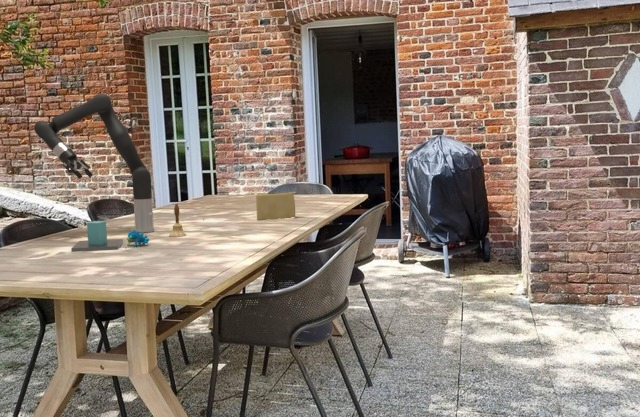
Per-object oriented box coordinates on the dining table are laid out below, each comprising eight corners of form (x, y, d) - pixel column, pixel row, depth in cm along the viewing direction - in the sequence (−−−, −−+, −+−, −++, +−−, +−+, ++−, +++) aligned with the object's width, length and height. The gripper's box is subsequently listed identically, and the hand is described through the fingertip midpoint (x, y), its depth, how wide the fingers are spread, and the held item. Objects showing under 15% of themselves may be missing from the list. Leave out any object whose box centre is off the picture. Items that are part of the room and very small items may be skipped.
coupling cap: (95, 242, 328) (94, 221, 326) (107, 242, 326) (105, 221, 325) (88, 244, 322) (86, 222, 321) (99, 244, 320) (98, 223, 319)
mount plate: (123, 242, 335) (122, 223, 334) (117, 249, 316) (116, 229, 315) (79, 244, 332) (78, 225, 331) (71, 251, 313) (70, 231, 312)
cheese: (295, 217, 411) (294, 191, 409) (295, 219, 402) (294, 193, 400) (257, 218, 410) (256, 192, 408) (256, 220, 401) (255, 194, 399)
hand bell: (189, 235, 352) (188, 203, 350) (175, 237, 346) (174, 205, 344) (179, 233, 358) (178, 202, 356) (166, 235, 352) (164, 204, 350)
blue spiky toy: (153, 241, 326) (141, 228, 320) (149, 251, 323) (136, 238, 316) (135, 243, 331) (122, 230, 325) (130, 253, 328) (118, 240, 321)
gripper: (59, 148, 338) (81, 172, 336) (77, 147, 352) (99, 170, 350) (51, 159, 340) (73, 183, 338) (69, 158, 354) (90, 181, 352)
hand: (86, 176), depth 344 cm, fingers open, 8 cm apart
